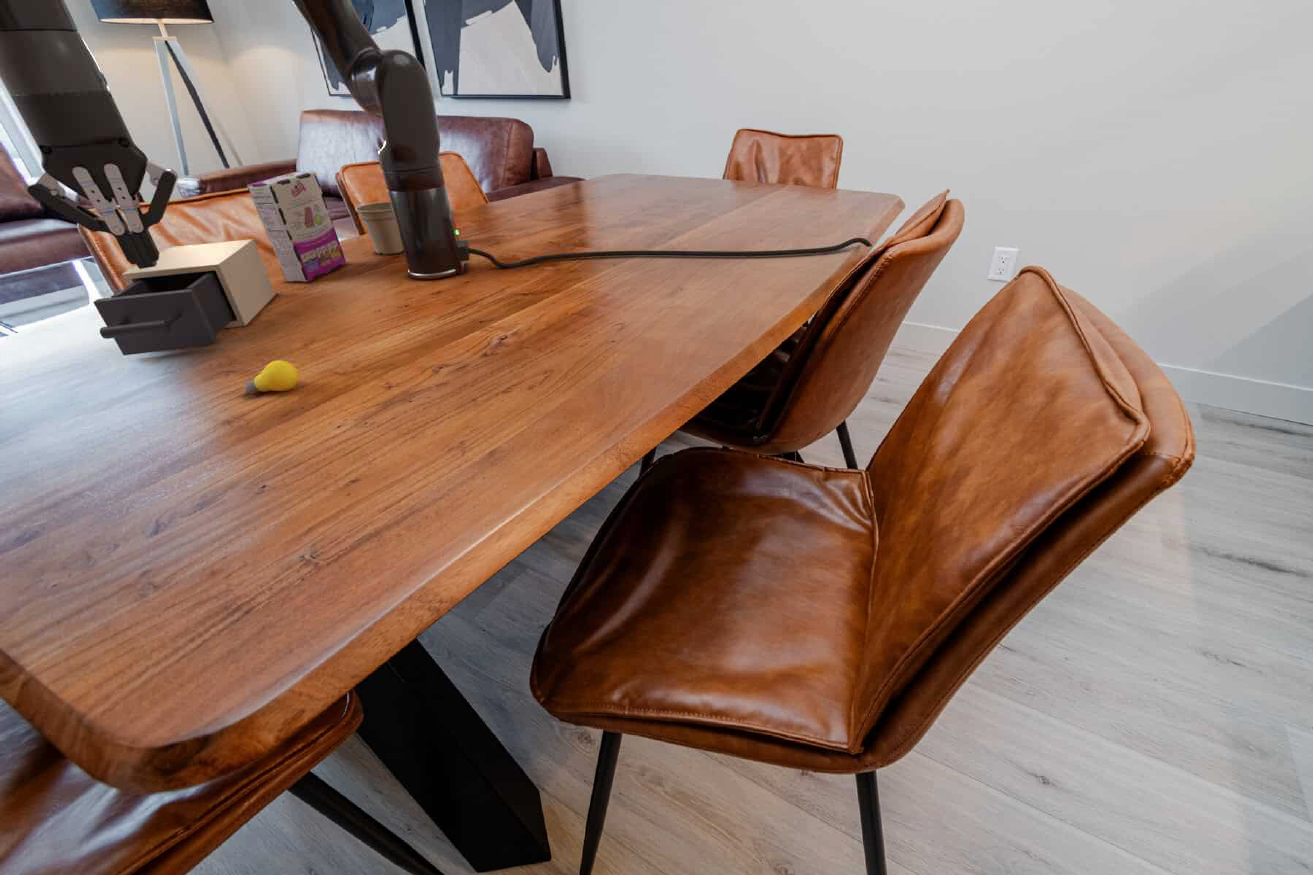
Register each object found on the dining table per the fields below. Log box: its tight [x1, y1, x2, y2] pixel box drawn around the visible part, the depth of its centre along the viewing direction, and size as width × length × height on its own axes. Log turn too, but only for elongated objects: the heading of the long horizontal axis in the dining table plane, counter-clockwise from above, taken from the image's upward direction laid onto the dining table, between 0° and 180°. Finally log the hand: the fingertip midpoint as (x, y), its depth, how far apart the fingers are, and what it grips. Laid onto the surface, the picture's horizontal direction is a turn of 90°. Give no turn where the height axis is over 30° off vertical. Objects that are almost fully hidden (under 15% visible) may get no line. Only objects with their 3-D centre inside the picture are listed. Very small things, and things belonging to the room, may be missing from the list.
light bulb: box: [244, 360, 299, 395], centre depth 69 cm, size 3×6×4 cm, turn 103°
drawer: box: [92, 270, 235, 356], centre depth 81 cm, size 18×11×7 cm, turn 13°
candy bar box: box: [246, 171, 347, 283], centre depth 105 cm, size 11×5×16 cm, turn 168°
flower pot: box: [354, 200, 404, 255], centre depth 118 cm, size 9×9×9 cm
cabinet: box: [121, 238, 276, 329], centre depth 91 cm, size 15×12×9 cm
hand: (148, 266), depth 67 cm, fingers closed
